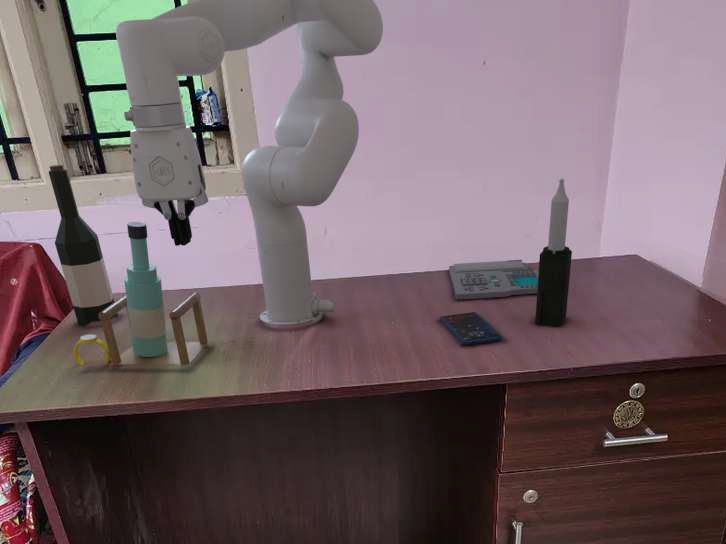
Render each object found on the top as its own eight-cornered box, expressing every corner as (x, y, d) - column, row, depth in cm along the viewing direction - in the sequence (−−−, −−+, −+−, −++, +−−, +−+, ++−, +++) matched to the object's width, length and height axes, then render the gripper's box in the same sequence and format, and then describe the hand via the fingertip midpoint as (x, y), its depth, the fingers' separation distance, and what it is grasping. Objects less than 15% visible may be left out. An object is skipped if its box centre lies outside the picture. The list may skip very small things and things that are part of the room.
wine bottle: (106, 327, 146) (63, 168, 130) (70, 327, 148) (23, 169, 132) (126, 314, 153) (87, 161, 137) (91, 314, 155) (49, 163, 139)
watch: (77, 373, 126) (67, 340, 123) (81, 367, 129) (72, 335, 125) (111, 370, 126) (102, 338, 123) (115, 364, 129) (106, 332, 125)
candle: (566, 318, 136) (580, 176, 122) (560, 327, 132) (573, 181, 119) (540, 316, 138) (550, 175, 124) (533, 324, 134) (543, 180, 121)
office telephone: (448, 259, 167) (534, 255, 166) (448, 271, 168) (533, 266, 168) (456, 287, 147) (553, 282, 146) (456, 300, 149) (552, 295, 148)
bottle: (211, 330, 129) (148, 213, 119) (200, 343, 124) (133, 221, 114) (149, 355, 133) (82, 243, 123) (135, 368, 128) (65, 252, 118)
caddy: (210, 347, 133) (200, 291, 128) (189, 370, 124) (177, 311, 119) (137, 347, 136) (124, 292, 130) (111, 370, 126) (95, 312, 121)
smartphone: (475, 311, 139) (503, 336, 127) (475, 315, 140) (503, 341, 127) (438, 316, 138) (462, 342, 126) (438, 320, 139) (462, 346, 126)
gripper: (101, 122, 106) (131, 250, 116) (197, 118, 104) (219, 248, 114) (123, 118, 112) (149, 239, 122) (214, 113, 110) (233, 237, 120)
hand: (183, 243), depth 118 cm, fingers closed
